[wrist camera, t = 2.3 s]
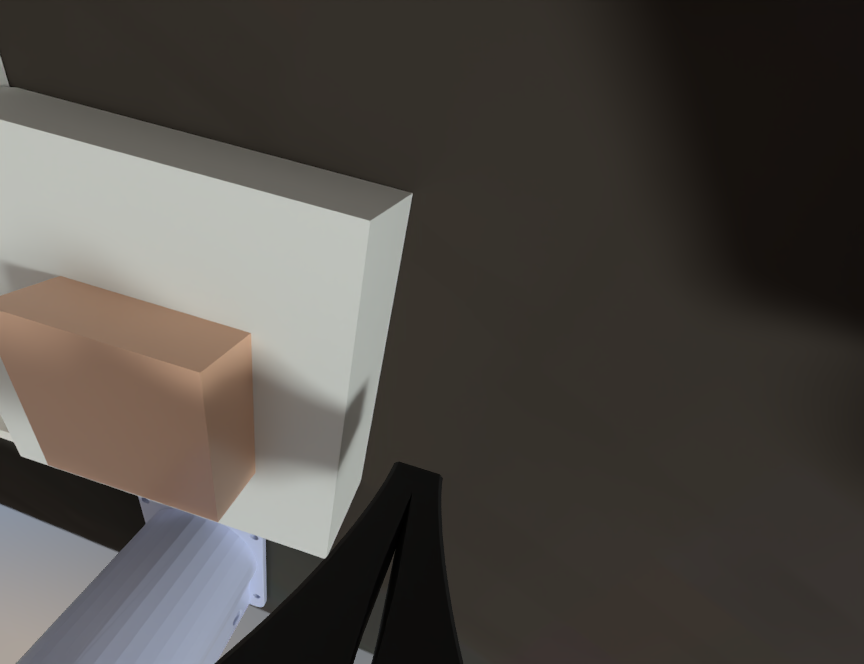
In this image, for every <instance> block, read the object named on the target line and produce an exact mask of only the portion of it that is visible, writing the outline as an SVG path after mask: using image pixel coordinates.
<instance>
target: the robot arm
mask: <svg viewBox="0 0 864 664" xmlns="http://www.w3.org/2000/svg"><path fill="white" fill-rule="evenodd" d="M442 479H443V478H442V477H441V475H440V474H437V473H433V472H430V471H427V470H424V469H421V468H418V467H414V466H411V465H408V464H405V463H402V462H396V463H394V465H393V467H392V469H391V471H390V473H389V475H388V476H387V478H386V480H385V482H384V483H383V485H382V486H381V488H380V489H379V491H378V492H377V494H376V495H375V497H374V498H373V500H372V501H371V503H370V504H369V505H368V507H367V508H366V509H365V511H364V512H363V513H362V514H361V516H360V517H359V518H358V520H357V521H356V522H355V524H354V525H353V526H352V527H351V529H350V530H349V531H348V532H347V533H346V535H345V536H344V537H343V538H342V539H341V541H340V542H339V543H338V544H337V545H336V546H335V548H334V549H333V550H332V551H331V552H330V553H329V555H328V556H327V557H326V558H325V559H324V560H323V561H322V562H321V563H320V565H319V566H318V567H317V568H316V569H315V570H314V571H313V572H312V573H311V574H310V575H309V576H308V577H307V578H306V579H305V580H304V581H303V582H302V583H301V584H300V586H299V587H298V588H297V589H296V590H295V591H294V592H293V593H292V594H290V595H289V596H288V597H287V598H286V599H285V600H284V601H283V602H282V603H281V604H280V605H279V606H278V607H277V608H276V609H275V610H274V611H273V612H272V613H271V614H270V615H269V616H268V617H267V618H266V619H264V620H263V621H262V622H261V623H260V624H259V625H258V626H257V627H256V628H255V629H254V630H253V631H251V632H250V633H249V634H248V635H247V636H246V637H244V638H243V639H242V640H241V641H240V642H239V643H238V644H236V645H235V646H234V647H233V648H232V649H231V650H230V651H228V652H227V653H226V654H225V655H224V656H223V657H222V658H220V659H219V657H220V655H221V653H222V652H223V650H224V648H225V646H226V645H227V643H228V641H229V639H230V637H231V635H232V634H233V632H234V630H235V629H236V627H237V625H238V623H239V621H240V620H241V618H242V616H243V614H244V613H245V611H246V609H247V607H248V605H249V604H251V605H254V606H257V607H263V606H264V605H265V603H266V601H267V594H266V539H265V538H262V537H259V536H256V535H253V534H250V533H247V532H244V531H241V530H238V529H235V528H232V527H229V526H226V525H223V524H220V523H217V522H214V521H211V520H208V519H205V518H202V517H199V516H197V515H194V514H191V513H188V512H185V511H182V510H179V509H176V508H173V507H170V506H167V505H164V504H161V503H158V502H155V501H152V500H149V499H146V498H143V497H140V496H138V498H139V502H140V505H141V509H142V512H143V516H144V519H145V523H146V524H145V525H144V526H143V528H142V529H141V530H140V531H139V532H138V533H137V534H136V535H135V536H134V537H133V538H132V539H131V540H130V541H129V543H128V544H127V545H126V546H125V547H124V548H123V549H122V550H121V551H120V552H119V553H118V554H117V555H116V557H115V558H114V559H113V560H112V561H111V562H110V563H109V564H108V565H107V566H106V567H105V569H103V571H102V572H101V573H100V574H99V575H98V576H97V577H96V578H95V579H94V580H93V581H92V582H91V583H90V584H89V585H88V587H87V588H86V589H85V590H84V591H83V592H82V593H81V594H80V595H79V596H78V597H77V598H76V600H75V601H74V602H73V603H72V604H71V605H70V606H69V607H68V608H67V609H66V610H65V611H64V612H63V613H62V614H61V616H60V617H59V618H58V619H57V620H56V621H55V622H54V623H53V624H52V625H51V626H50V627H49V628H48V629H47V631H46V632H45V633H44V634H43V635H42V636H41V637H40V638H39V639H38V640H37V641H36V642H35V644H34V645H33V646H32V647H31V648H30V649H29V650H28V651H27V652H26V653H25V654H24V656H22V657H21V658H20V660H19V661H18V662H17V663H16V664H353V663H354V660H355V657H356V653H357V650H358V647H359V645H360V642H361V639H362V636H363V633H364V630H365V628H366V625H367V623H368V620H369V617H370V615H371V612H372V609H373V607H374V604H375V602H376V599H377V596H378V594H379V591H380V588H381V586H382V583H383V581H384V578H385V575H386V573H387V570H388V567H389V565H390V562H391V560H392V557H393V554H394V552H395V555H394V559H393V564H392V569H391V574H390V579H389V584H388V589H387V594H386V599H385V604H384V609H383V614H382V619H381V624H380V629H379V634H378V639H377V643H376V647H375V651H374V656H373V660H372V663H371V664H463V660H462V656H461V651H460V647H459V642H458V637H457V632H456V627H455V622H454V617H453V612H452V606H451V600H450V593H449V587H448V580H447V573H446V565H445V556H444V546H443V536H442V518H441V490H442ZM395 549H396V550H395ZM218 659H219V660H218Z"/></svg>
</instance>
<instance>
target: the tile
mask: <svg viewBox="0 0 864 664" xmlns="http://www.w3.org/2000/svg"><path fill="white" fill-rule="evenodd" d="M0 357H1V359H2V362H3V364H4V366H5V368H6V371H7V373H8V375H9V377H10V380H11V382H12V384H13V387H14V389H15V391H16V393H17V396H18V398H19V400H20V402H21V405H22V407H23V409H24V412H25V414H26V416H27V418H28V421H29V423H30V425H31V427H32V430H33V432H34V434H35V436H36V439H37V441H38V443H39V446H40V448H41V450H42V452H43V455H44V457H45V459H46V461H47V464H48V465H49V466H52V467H55V468H58V469H61V470H64V471H67V472H70V473H73V474H76V475H79V476H82V477H85V478H88V479H91V480H94V481H97V482H100V483H103V484H106V485H109V486H112V487H115V488H118V489H121V490H124V491H127V492H130V493H133V494H135V495H138V496H141V497H144V498H147V499H150V500H153V501H156V502H159V503H162V504H165V505H168V506H171V507H174V508H177V509H180V510H183V511H186V512H189V513H192V514H195V515H198V516H201V517H204V518H207V519H210V520H213V521H216V522H219V521H220V519H221V518H222V517H223V515H224V514H225V513H226V511H227V510H228V509H229V507H230V506H231V505H232V503H233V502H234V501H235V499H236V498H237V497H238V495H239V494H240V493H241V491H242V490H243V489H244V487H245V486H246V485H247V483H248V482H249V481H250V479H251V478H252V477H253V475H254V474H255V473H256V469H255V438H254V408H253V377H252V346H251V333H249V332H246V331H242V330H239V329H236V328H232V327H229V326H226V325H222V324H219V323H216V322H212V321H209V320H206V319H202V318H199V317H196V316H192V315H189V314H186V313H183V312H179V311H176V310H173V309H169V308H166V307H163V306H159V305H156V304H153V303H149V302H146V301H143V300H139V299H136V298H133V297H129V296H126V295H123V294H119V293H116V292H113V291H109V290H106V289H103V288H99V287H96V286H93V285H89V284H86V283H83V282H79V281H76V280H73V279H69V278H66V277H63V276H58V277H55V278H52V279H49V280H46V281H43V282H40V283H37V284H34V285H31V286H28V287H25V288H22V289H19V290H16V291H13V292H10V293H7V294H4V295H1V296H0Z"/></svg>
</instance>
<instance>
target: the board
mask: <svg viewBox="0 0 864 664" xmlns="http://www.w3.org/2000/svg"><path fill="white" fill-rule="evenodd" d="M412 195H413V193H410V192H407V191H403V190H399V189H395V188H392V187H388V186H384V185H380V184H377V183H373V182H369V181H365V180H362V179H358V178H354V177H350V176H347V175H343V174H339V173H335V172H332V171H328V170H324V169H320V168H317V167H313V166H309V165H305V164H302V163H298V162H294V161H291V160H287V159H283V158H279V157H276V156H272V155H268V154H264V153H261V152H257V151H253V150H249V149H246V148H242V147H238V146H234V145H231V144H227V143H223V142H219V141H216V140H212V139H208V138H204V137H201V136H197V135H193V134H189V133H186V132H182V131H178V130H174V129H171V128H167V127H163V126H159V125H156V124H152V123H148V122H144V121H141V120H137V119H133V118H129V117H126V116H122V115H118V114H114V113H111V112H107V111H103V110H99V109H96V108H92V107H88V106H84V105H81V104H77V103H73V102H69V101H66V100H62V99H58V98H54V97H51V96H47V95H43V94H39V93H36V92H32V91H28V90H24V89H21V88H17V87H3V86H0V296H1V295H4V294H7V293H10V292H13V291H16V290H19V289H22V288H25V287H28V286H31V285H34V284H37V283H40V282H43V281H46V280H49V279H52V278H55V277H58V276H63V277H66V278H69V279H73V280H76V281H79V282H83V283H86V284H89V285H93V286H96V287H99V288H103V289H106V290H109V291H113V292H116V293H119V294H123V295H126V296H129V297H133V298H136V299H139V300H143V301H146V302H149V303H153V304H156V305H159V306H163V307H166V308H169V309H173V310H176V311H179V312H183V313H186V314H189V315H192V316H196V317H199V318H202V319H206V320H209V321H212V322H216V323H219V324H222V325H226V326H229V327H232V328H236V329H239V330H242V331H246V332H249V333H251V346H252V377H253V408H254V438H255V469H256V473H255V474H254V475H253V477H252V478H251V479H250V481H249V482H248V483H247V485H246V486H245V487H244V489H243V490H242V491H241V493H240V494H239V495H238V497H237V498H236V499H235V501H234V502H233V503H232V505H231V506H230V507H229V509H228V510H227V511H226V513H225V514H224V515H223V517H222V518H221V519H220V521H219V522H217V523H220V524H223V525H226V526H229V527H232V528H235V529H238V530H241V531H244V532H247V533H250V534H253V535H256V536H259V537H262V538H265V539H268V540H271V541H274V542H277V543H280V544H283V545H285V546H288V547H291V548H294V549H297V550H300V551H303V552H306V553H309V554H312V555H315V556H318V557H321V558H324V559H325V558H326V557H327V556H328V554H329V551H330V549H331V547H332V545H333V542H334V540H335V538H336V536H337V533H338V531H339V529H340V527H341V524H342V522H343V520H344V517H345V515H346V513H347V511H348V508H349V506H350V504H351V502H352V499H353V497H354V495H355V493H356V490H357V488H358V486H359V484H360V481H361V477H362V471H363V466H364V460H365V455H366V449H367V444H368V438H369V433H370V427H371V422H372V416H373V411H374V405H375V400H376V394H377V388H378V383H379V377H380V372H381V366H382V361H383V355H384V350H385V344H386V339H387V333H388V328H389V322H390V317H391V311H392V305H393V300H394V294H395V289H396V283H397V278H398V272H399V267H400V261H401V256H402V250H403V245H404V239H405V234H406V228H407V222H408V217H409V211H410V206H411V200H412ZM0 415H1V417H2V419H3V421H4V423H5V425H6V427H7V429H8V431H9V433H10V435H11V437H12V439H13V441H14V443H15V445H16V447H17V450H18V452H19V454H20V456H22V457H25V458H27V459H30V460H33V461H36V462H39V463H42V464H45V465H48V464H47V461H46V459H45V457H44V455H43V452H42V450H41V448H40V446H39V443H38V441H37V439H36V436H35V434H34V432H33V430H32V427H31V425H30V423H29V421H28V418H27V416H26V414H25V412H24V409H23V407H22V405H21V402H20V400H19V398H18V396H17V393H16V391H15V389H14V387H13V384H12V382H11V380H10V377H9V375H8V373H7V371H6V368H5V366H4V364H3V362H2V359H1V357H0ZM48 466H49V465H48ZM51 467H52V466H51ZM54 468H55V467H54ZM57 469H58V468H57ZM60 470H61V469H60ZM63 471H64V470H63ZM66 472H67V471H66ZM69 473H70V472H69ZM72 474H73V473H72ZM75 475H76V474H75ZM78 476H79V475H78ZM81 477H82V476H81ZM84 478H85V477H84ZM87 479H88V478H87ZM90 480H91V479H90ZM93 481H94V480H93ZM96 482H97V481H96ZM99 483H100V482H99ZM102 484H103V483H102ZM105 485H106V484H105ZM108 486H109V485H108ZM111 487H112V486H111ZM113 488H115V487H113ZM116 489H118V488H116ZM119 490H121V489H119ZM122 491H124V490H122ZM125 492H127V491H125ZM128 493H130V492H128ZM131 494H133V493H131ZM134 495H135V494H134ZM137 496H138V495H137ZM140 497H141V496H140ZM143 498H144V497H143ZM146 499H147V498H146ZM149 500H150V499H149ZM152 501H153V500H152ZM155 502H156V501H155ZM158 503H159V502H158ZM161 504H162V503H161ZM164 505H165V504H164ZM167 506H168V505H167ZM170 507H171V506H170ZM173 508H174V507H173ZM176 509H177V508H176ZM179 510H180V509H179ZM182 511H183V510H182ZM185 512H186V511H185ZM188 513H189V512H188ZM191 514H192V513H191ZM194 515H195V514H194ZM197 516H198V515H197ZM199 517H201V516H199ZM202 518H204V517H202ZM205 519H207V518H205ZM208 520H210V519H208ZM211 521H213V520H211ZM214 522H216V521H214Z"/></svg>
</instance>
